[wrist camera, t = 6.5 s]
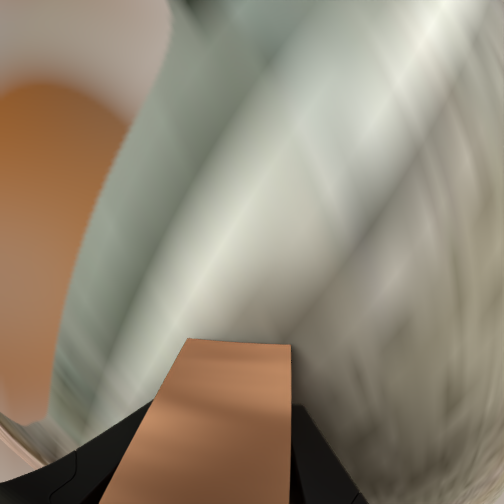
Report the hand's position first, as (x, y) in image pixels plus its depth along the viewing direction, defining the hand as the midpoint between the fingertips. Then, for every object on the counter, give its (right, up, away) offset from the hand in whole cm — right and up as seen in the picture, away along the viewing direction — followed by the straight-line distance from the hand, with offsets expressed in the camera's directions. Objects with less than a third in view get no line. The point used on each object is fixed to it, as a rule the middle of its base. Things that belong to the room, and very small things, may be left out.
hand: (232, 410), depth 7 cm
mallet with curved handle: (0, -9, +4) cm, 9 cm away
